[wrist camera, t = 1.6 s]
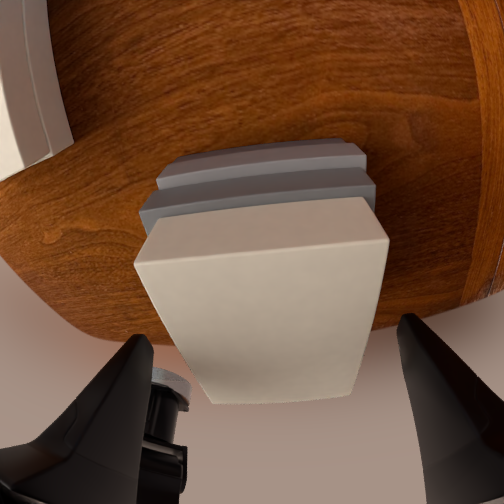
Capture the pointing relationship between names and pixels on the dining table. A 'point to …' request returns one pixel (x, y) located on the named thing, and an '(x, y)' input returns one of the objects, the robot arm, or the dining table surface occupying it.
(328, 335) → the white block
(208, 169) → the grey pile
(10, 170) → the white pile
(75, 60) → the dining table surface
